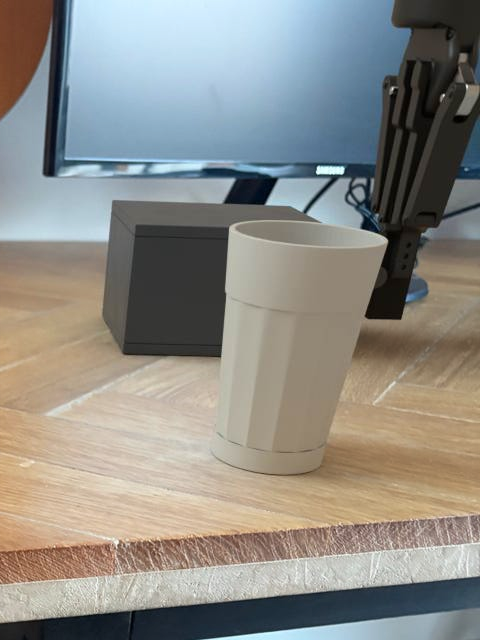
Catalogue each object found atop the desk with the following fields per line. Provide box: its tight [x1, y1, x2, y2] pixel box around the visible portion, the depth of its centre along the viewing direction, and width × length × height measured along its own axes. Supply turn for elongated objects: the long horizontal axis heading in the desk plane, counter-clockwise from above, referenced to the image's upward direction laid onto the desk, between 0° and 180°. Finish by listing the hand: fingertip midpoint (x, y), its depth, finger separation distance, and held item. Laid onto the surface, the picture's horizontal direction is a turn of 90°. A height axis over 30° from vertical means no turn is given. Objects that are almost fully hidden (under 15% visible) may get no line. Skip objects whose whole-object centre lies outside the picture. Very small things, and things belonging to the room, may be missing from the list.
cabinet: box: [101, 199, 323, 357], centre depth 77 cm, size 15×12×9 cm
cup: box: [210, 220, 388, 476], centre depth 54 cm, size 8×8×12 cm
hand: (381, 317), depth 80 cm, fingers closed
